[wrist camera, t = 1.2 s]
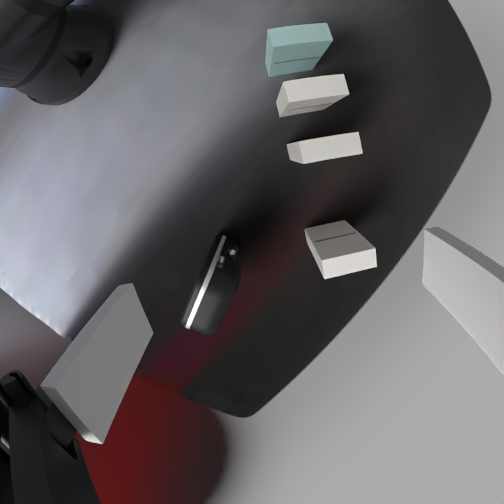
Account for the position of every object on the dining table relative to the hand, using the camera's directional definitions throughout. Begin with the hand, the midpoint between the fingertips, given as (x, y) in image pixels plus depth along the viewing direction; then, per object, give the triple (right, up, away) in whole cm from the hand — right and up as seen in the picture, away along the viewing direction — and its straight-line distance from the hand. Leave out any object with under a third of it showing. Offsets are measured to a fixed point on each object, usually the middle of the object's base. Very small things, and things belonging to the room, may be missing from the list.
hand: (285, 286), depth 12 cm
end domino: (+7, +4, +22) cm, 23 cm away
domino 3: (+5, +13, +18) cm, 23 cm away
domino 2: (+4, +18, +17) cm, 25 cm away
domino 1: (+3, +22, +15) cm, 27 cm away
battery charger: (-5, 0, +24) cm, 24 cm away
